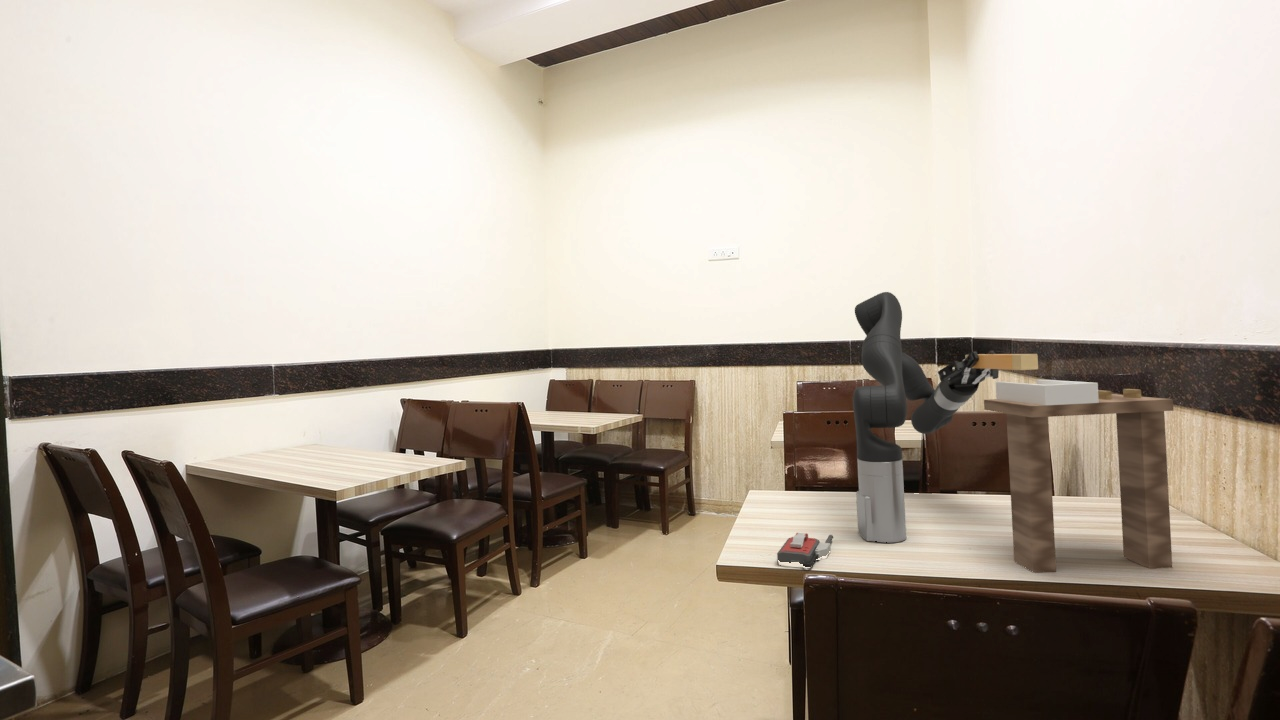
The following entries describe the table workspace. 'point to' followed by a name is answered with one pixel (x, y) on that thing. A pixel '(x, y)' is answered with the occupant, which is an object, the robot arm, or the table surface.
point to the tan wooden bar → (1007, 361)
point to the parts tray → (1048, 392)
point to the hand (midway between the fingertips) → (984, 354)
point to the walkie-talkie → (803, 549)
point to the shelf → (1137, 475)
